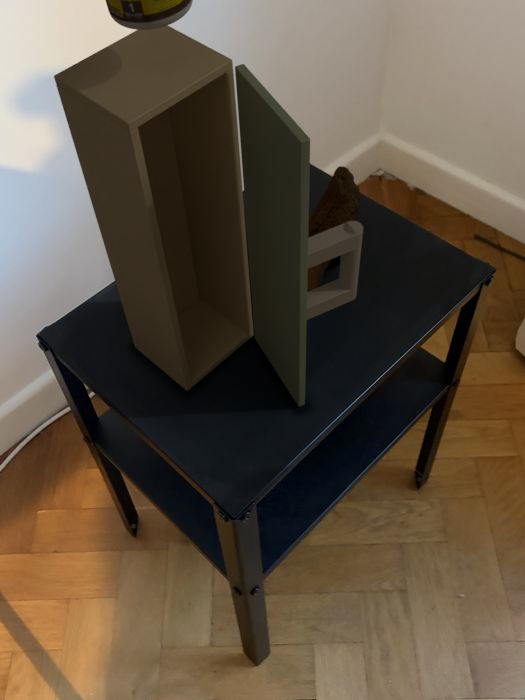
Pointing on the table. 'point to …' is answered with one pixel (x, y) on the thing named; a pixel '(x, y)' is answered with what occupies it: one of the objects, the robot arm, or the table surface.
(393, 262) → the table surface
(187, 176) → the cabinet
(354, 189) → the sculpture
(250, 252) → the cabinet door
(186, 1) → the supplement bottle
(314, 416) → the table surface
